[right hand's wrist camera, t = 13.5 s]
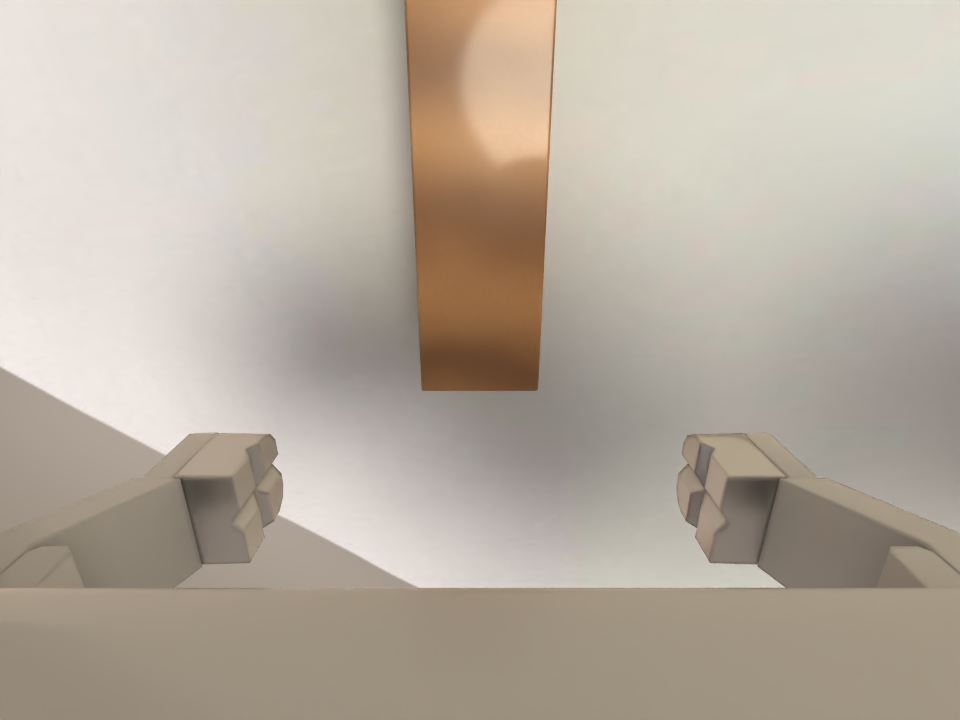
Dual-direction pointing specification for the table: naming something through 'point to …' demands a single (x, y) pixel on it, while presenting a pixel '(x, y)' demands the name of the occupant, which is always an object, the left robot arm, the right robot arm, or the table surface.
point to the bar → (480, 186)
